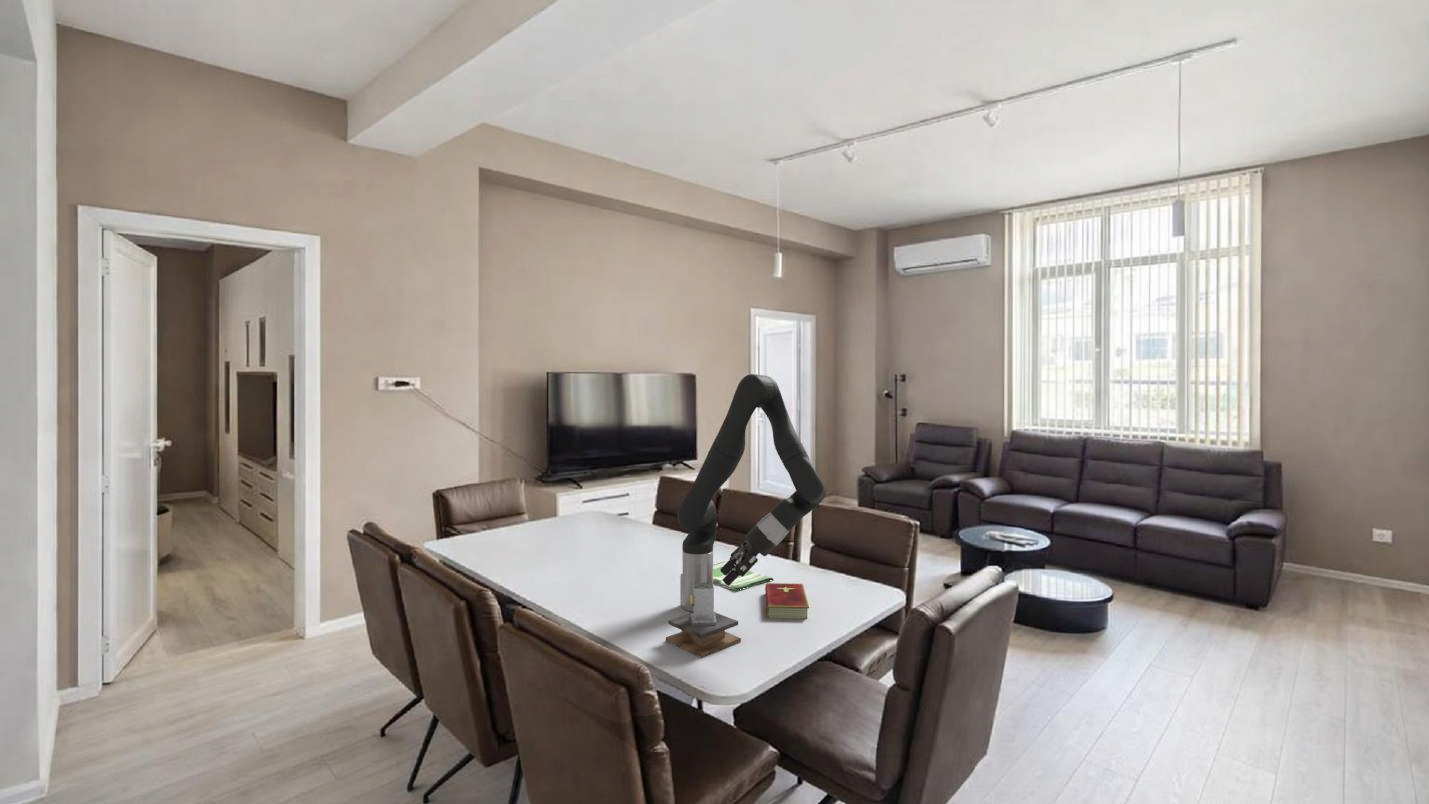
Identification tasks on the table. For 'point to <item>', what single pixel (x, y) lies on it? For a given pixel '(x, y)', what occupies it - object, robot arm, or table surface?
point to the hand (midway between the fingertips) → (723, 577)
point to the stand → (703, 635)
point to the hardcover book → (786, 600)
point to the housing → (703, 605)
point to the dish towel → (738, 578)
